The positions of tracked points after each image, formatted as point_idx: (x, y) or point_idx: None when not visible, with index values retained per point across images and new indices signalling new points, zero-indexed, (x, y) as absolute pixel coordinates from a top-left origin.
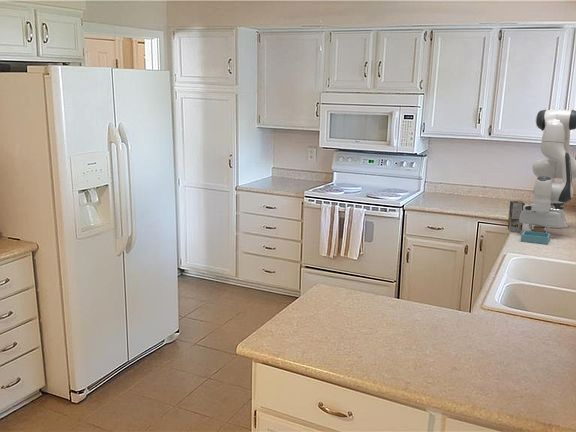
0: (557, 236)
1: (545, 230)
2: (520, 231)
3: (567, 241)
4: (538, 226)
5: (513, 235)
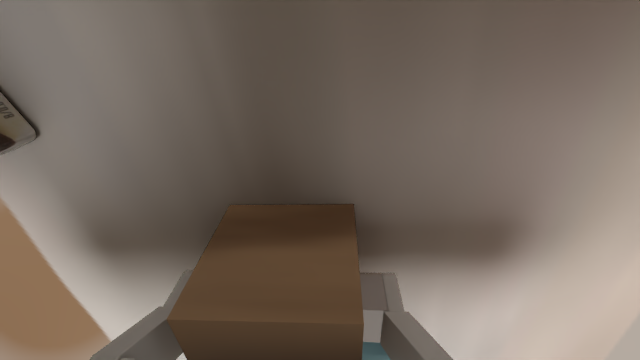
0: (560, 113)
1: (380, 320)
2: (15, 148)
3: (592, 322)
4: (249, 338)
5: (103, 319)
